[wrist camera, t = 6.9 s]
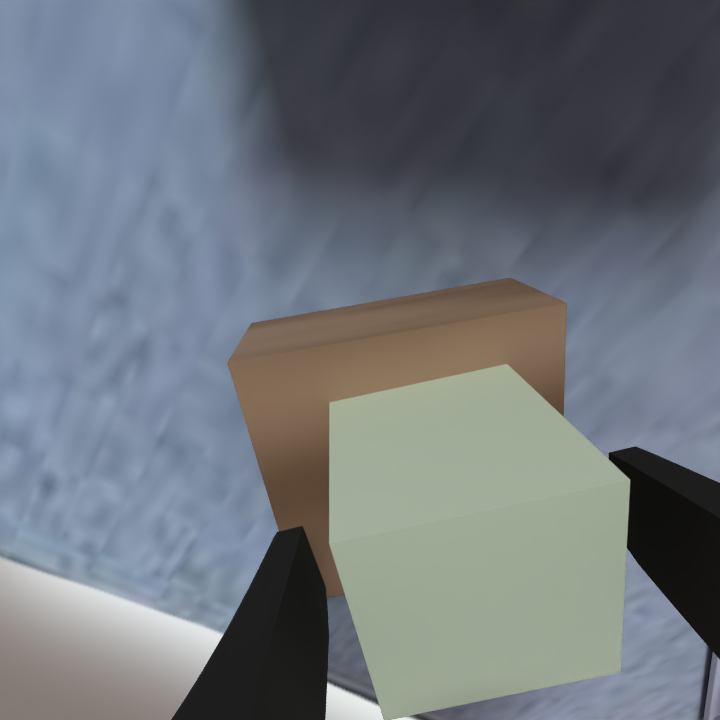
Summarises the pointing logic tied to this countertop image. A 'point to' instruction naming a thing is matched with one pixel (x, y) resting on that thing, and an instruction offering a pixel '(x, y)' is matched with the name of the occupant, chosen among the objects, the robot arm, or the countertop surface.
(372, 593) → the sage cube
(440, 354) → the walnut block
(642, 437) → the countertop surface
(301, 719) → the robot arm
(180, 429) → the countertop surface
